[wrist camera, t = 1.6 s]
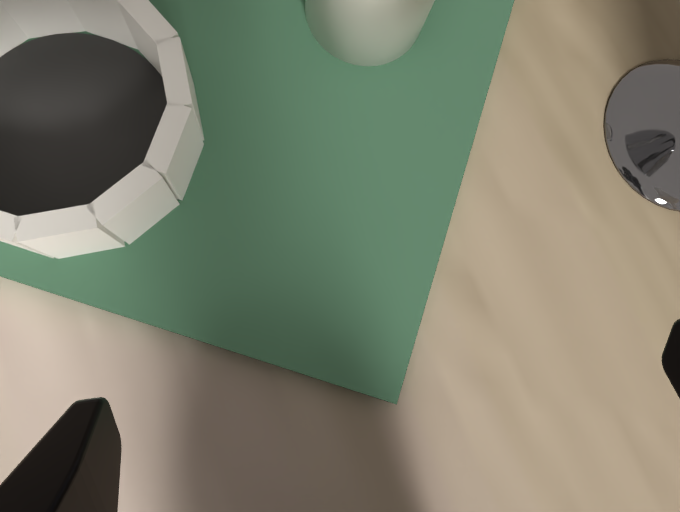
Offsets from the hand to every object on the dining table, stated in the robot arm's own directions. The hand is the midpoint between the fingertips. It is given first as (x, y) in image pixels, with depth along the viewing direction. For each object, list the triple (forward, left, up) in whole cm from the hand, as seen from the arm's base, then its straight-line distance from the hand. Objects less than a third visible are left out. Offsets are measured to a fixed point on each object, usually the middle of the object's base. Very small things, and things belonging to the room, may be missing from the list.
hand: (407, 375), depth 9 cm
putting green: (+7, -9, -14) cm, 18 cm away
